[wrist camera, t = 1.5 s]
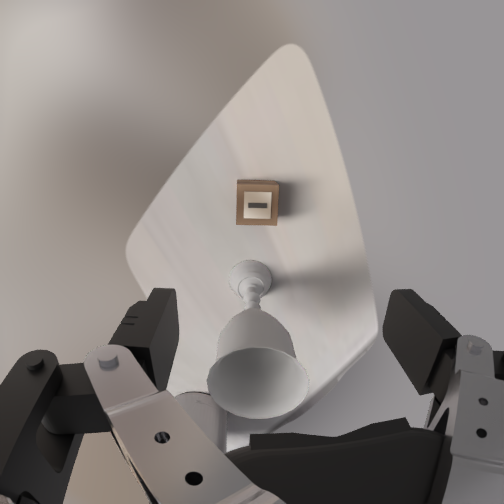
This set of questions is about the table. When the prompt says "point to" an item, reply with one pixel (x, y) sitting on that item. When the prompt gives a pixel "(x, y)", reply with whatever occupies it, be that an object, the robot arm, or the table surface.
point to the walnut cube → (257, 202)
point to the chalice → (255, 355)
